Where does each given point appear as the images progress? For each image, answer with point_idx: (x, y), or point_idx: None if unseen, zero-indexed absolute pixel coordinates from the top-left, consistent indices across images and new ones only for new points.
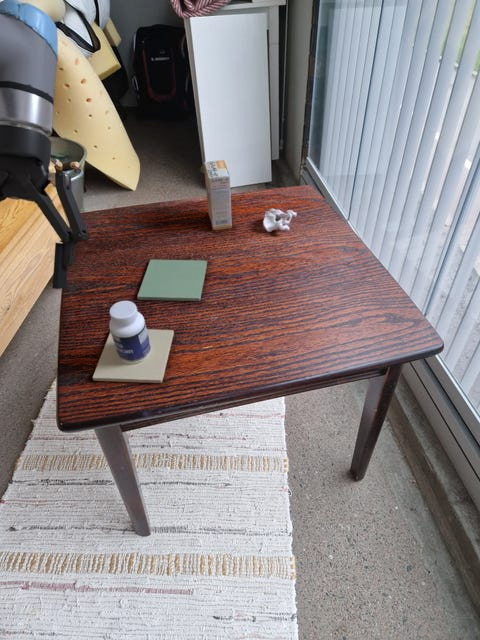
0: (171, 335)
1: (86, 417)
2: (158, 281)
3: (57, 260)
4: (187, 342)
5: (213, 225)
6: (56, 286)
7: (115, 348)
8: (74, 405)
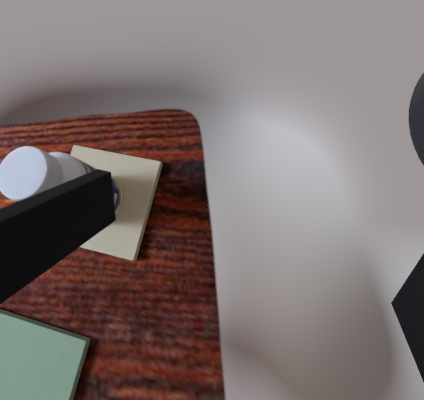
0: None
1: (169, 109)
2: (42, 382)
3: (17, 207)
4: None
5: None
6: (95, 171)
7: (128, 212)
8: (185, 128)
